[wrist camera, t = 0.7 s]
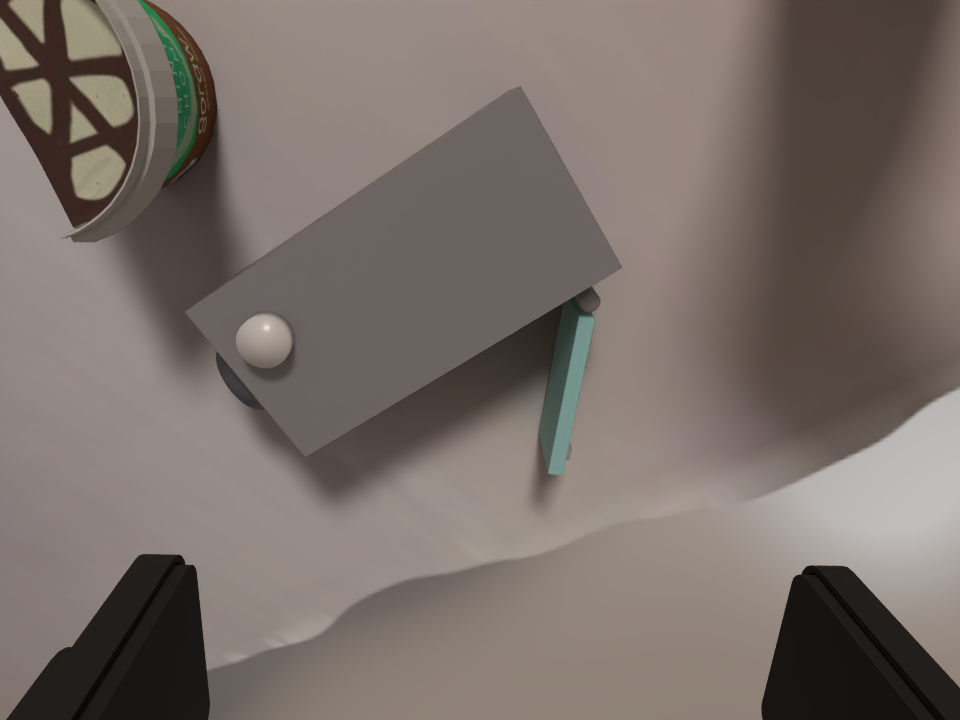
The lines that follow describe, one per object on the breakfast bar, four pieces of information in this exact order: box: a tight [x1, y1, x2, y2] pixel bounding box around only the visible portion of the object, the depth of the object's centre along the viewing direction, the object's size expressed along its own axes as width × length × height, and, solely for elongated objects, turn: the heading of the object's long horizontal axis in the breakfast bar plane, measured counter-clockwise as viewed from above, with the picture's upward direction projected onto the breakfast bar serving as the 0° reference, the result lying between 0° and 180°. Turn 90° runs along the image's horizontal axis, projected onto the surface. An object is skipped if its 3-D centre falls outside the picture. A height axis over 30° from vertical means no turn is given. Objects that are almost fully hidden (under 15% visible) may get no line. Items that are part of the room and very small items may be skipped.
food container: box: [0, 0, 217, 242], centre depth 29 cm, size 12×6×10 cm, turn 16°
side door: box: [539, 286, 600, 475], centre depth 37 cm, size 10×2×5 cm, turn 172°
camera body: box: [185, 86, 622, 457], centre depth 33 cm, size 20×10×8 cm, turn 122°
